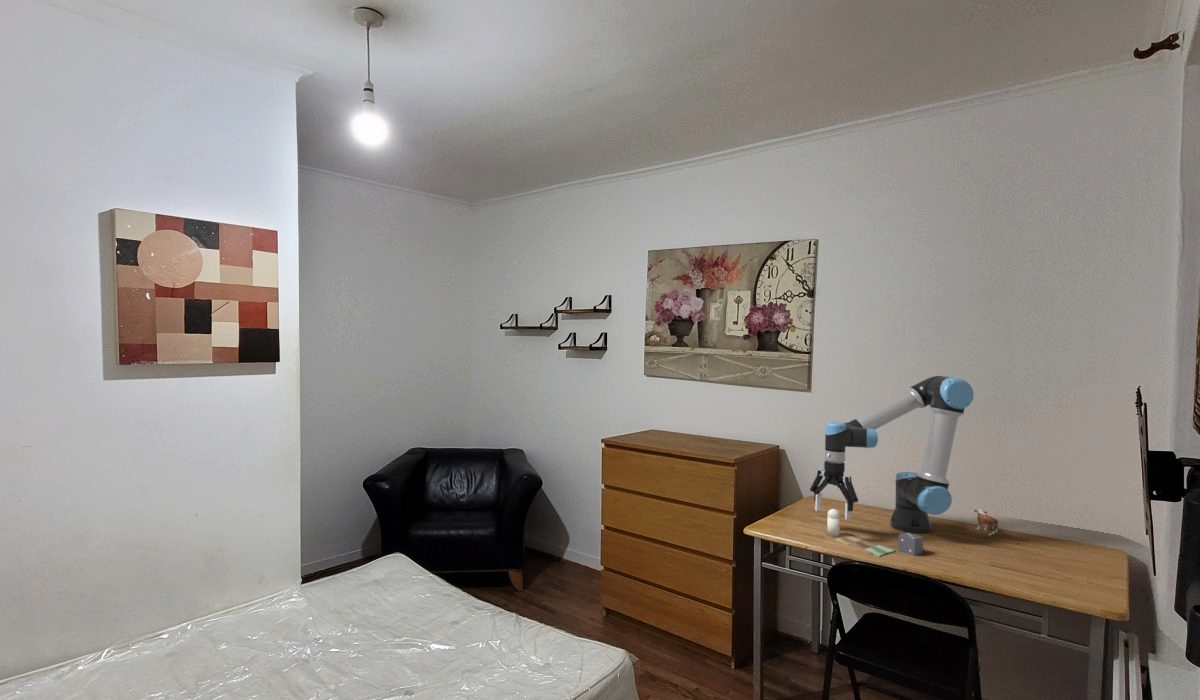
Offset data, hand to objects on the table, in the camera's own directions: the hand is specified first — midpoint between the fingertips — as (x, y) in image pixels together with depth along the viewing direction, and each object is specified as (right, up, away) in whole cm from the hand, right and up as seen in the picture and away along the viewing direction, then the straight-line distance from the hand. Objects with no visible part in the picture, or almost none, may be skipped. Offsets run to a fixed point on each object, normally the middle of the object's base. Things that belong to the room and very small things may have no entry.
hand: (832, 514), depth 236 cm
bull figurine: (+66, -10, +8) cm, 68 cm away
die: (+22, -9, -16) cm, 29 cm away
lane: (+6, -9, -8) cm, 13 cm away
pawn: (0, -8, 0) cm, 8 cm away
